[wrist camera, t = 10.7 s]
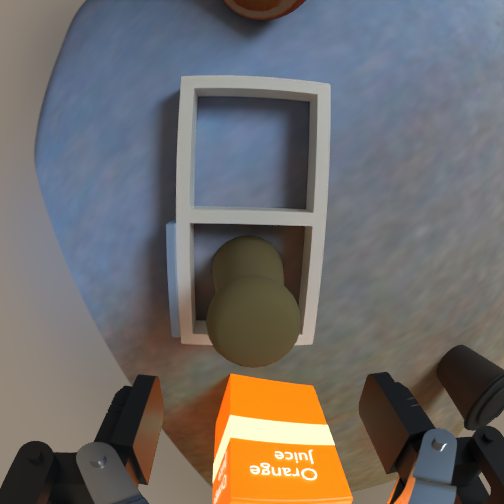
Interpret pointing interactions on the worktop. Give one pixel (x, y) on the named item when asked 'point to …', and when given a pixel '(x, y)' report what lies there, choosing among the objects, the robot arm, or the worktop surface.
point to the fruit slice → (263, 8)
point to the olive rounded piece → (251, 304)
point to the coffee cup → (472, 385)
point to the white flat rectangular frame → (188, 214)
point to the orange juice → (275, 447)
